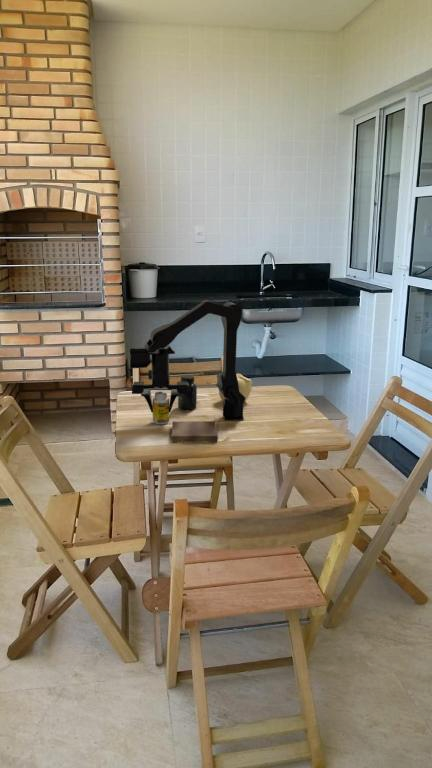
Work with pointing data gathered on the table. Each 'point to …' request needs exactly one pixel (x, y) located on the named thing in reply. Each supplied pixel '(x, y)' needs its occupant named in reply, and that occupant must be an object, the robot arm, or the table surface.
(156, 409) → the supplement bottle
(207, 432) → the walnut block
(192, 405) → the supplement bottle
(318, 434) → the table surface
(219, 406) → the table surface
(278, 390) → the table surface
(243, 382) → the sculpture
